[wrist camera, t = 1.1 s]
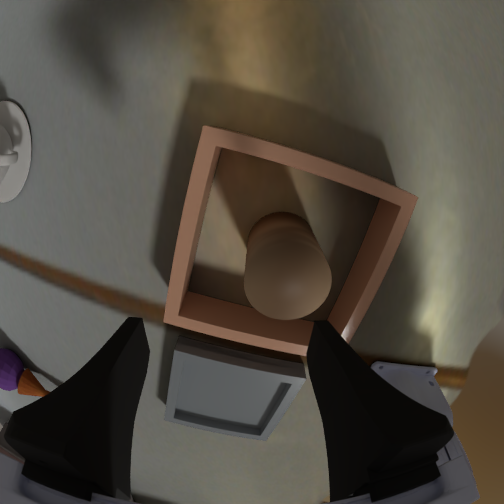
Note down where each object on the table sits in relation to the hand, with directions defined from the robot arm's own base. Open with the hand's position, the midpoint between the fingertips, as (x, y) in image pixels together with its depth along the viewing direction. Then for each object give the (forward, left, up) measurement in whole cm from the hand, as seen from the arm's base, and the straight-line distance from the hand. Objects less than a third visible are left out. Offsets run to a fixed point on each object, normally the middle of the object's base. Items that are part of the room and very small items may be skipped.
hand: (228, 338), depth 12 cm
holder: (-3, -1, -11) cm, 11 cm away
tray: (-3, +16, -11) cm, 20 cm away
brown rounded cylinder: (-3, -1, -11) cm, 11 cm away
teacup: (+25, -3, -12) cm, 27 cm away
